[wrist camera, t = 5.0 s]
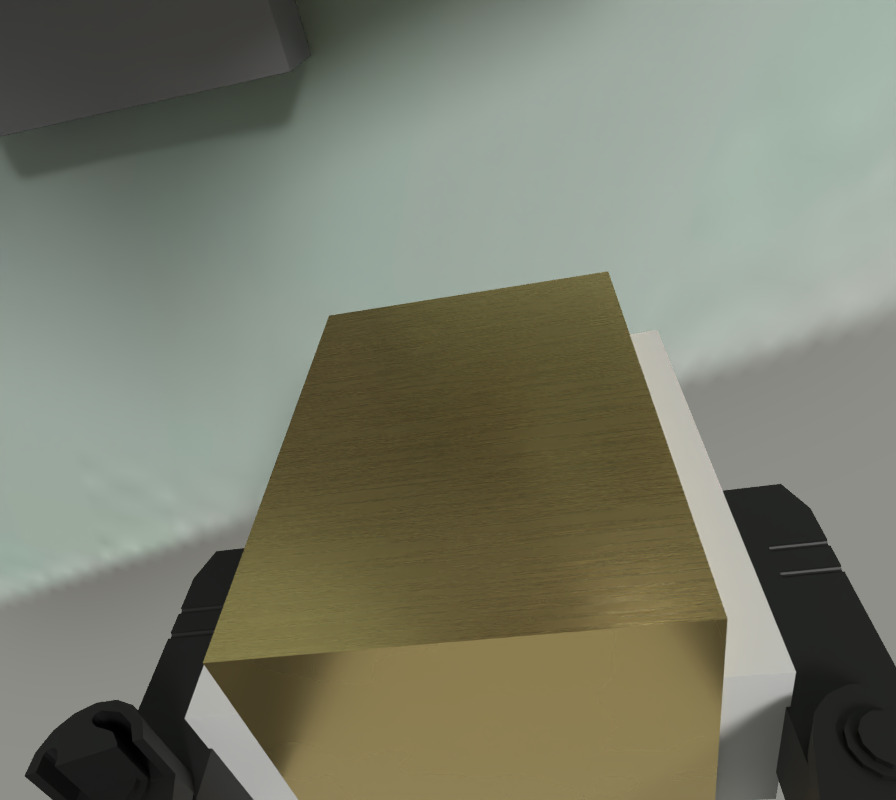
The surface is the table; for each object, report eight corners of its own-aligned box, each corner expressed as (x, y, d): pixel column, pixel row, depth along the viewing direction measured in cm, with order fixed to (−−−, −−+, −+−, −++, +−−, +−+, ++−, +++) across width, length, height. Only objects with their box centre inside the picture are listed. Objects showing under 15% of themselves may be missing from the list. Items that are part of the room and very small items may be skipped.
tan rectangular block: (394, 508, 15) (344, 865, 10) (329, 315, 12) (202, 663, 7) (621, 483, 15) (711, 852, 9) (608, 271, 12) (727, 618, 6)
